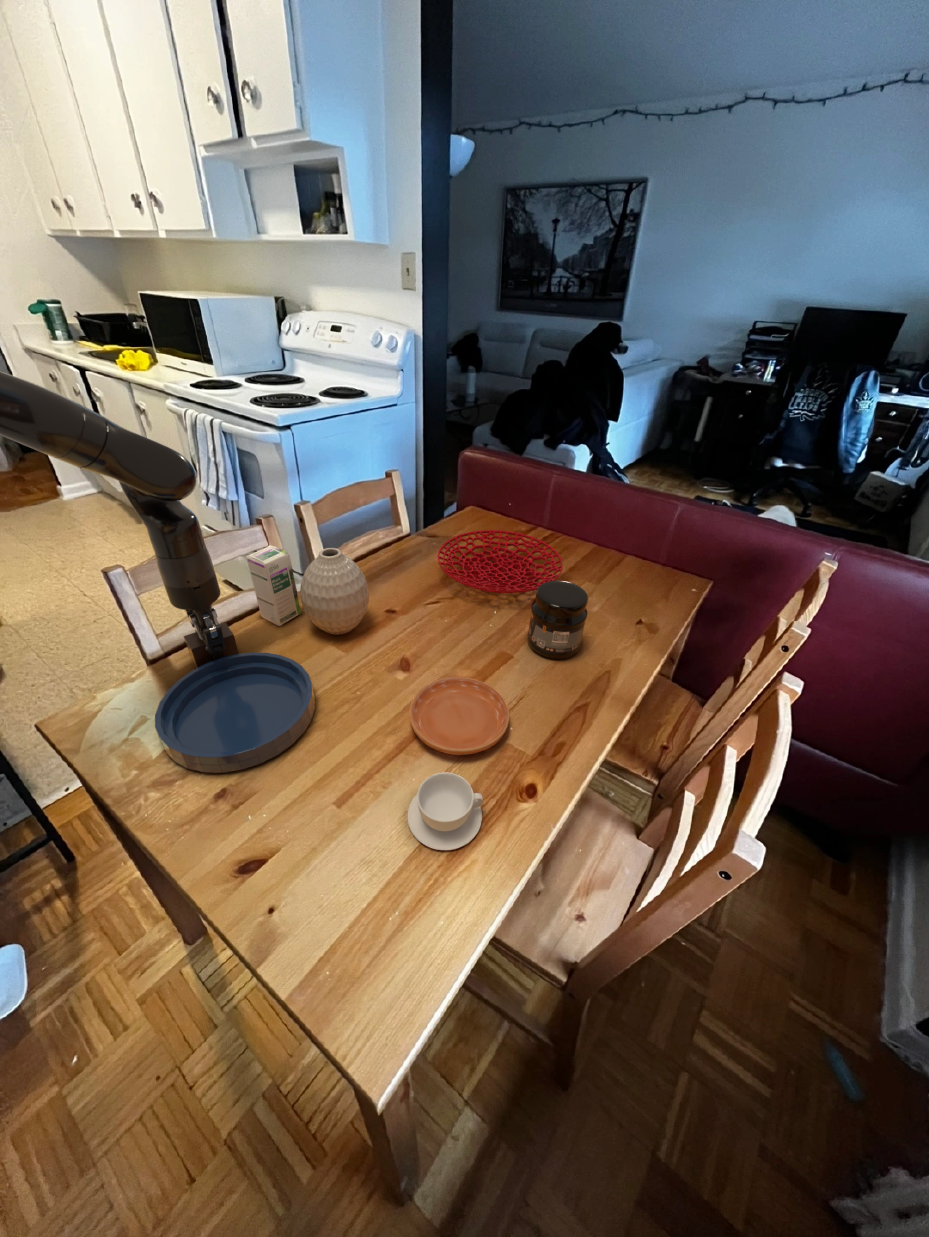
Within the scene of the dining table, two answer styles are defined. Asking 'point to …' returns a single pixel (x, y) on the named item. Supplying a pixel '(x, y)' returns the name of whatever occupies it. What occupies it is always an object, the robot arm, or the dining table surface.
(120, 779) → the dining table surface
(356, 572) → the vase
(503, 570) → the bowl
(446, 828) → the teacup
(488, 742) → the saucer
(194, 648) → the dark brown block
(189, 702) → the glazed bowl
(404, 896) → the dining table surface
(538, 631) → the supplement container
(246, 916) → the dining table surface
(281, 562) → the syrup box
